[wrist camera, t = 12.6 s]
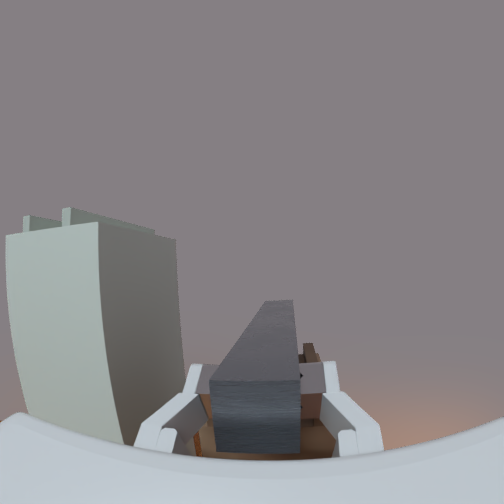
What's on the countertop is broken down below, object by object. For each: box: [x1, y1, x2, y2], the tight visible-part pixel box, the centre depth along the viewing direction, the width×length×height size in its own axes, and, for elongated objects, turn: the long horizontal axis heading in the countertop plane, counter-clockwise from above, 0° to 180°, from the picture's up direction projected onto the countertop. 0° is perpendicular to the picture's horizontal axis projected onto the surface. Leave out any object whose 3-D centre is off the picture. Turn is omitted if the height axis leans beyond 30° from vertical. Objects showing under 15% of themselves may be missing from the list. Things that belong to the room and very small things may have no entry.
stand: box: [6, 207, 196, 456], centre depth 24 cm, size 10×14×27 cm
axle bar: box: [209, 300, 301, 454], centre depth 20 cm, size 3×23×3 cm, turn 173°
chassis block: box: [199, 343, 336, 460], centre depth 19 cm, size 7×13×16 cm, turn 173°
